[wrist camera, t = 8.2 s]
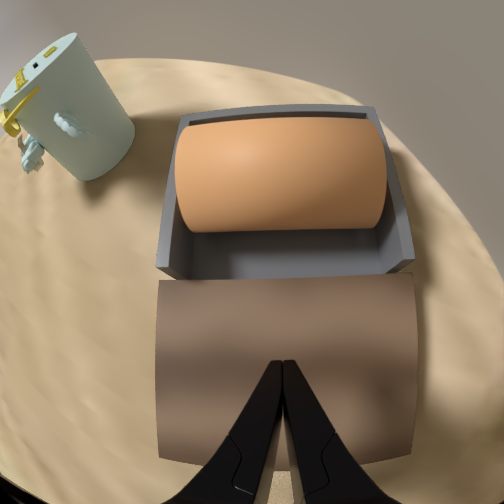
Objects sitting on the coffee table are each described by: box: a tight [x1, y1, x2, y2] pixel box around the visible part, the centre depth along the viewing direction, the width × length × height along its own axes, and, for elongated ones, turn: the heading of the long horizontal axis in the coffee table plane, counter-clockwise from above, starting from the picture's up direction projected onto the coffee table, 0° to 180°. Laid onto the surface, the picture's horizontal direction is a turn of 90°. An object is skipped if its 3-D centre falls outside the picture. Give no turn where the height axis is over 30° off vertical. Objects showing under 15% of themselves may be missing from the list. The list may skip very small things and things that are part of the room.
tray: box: [156, 104, 415, 280], centre depth 18 cm, size 12×15×4 cm
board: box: [155, 272, 418, 471], centre depth 15 cm, size 12×16×2 cm
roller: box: [175, 117, 387, 233], centre depth 17 cm, size 11×7×7 cm, turn 89°
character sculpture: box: [0, 33, 135, 181], centre depth 19 cm, size 20×12×13 cm, turn 44°
